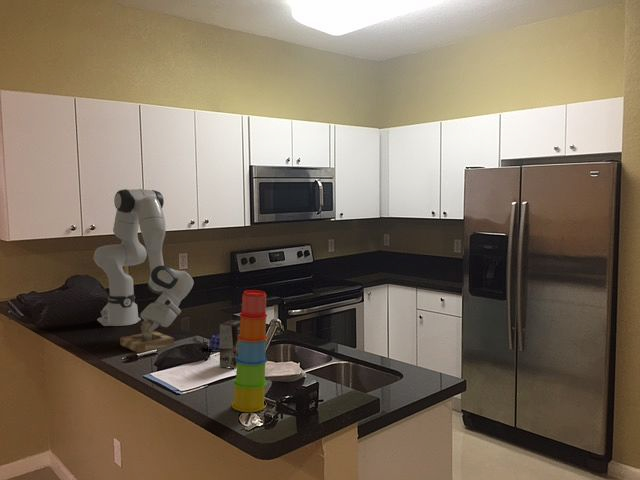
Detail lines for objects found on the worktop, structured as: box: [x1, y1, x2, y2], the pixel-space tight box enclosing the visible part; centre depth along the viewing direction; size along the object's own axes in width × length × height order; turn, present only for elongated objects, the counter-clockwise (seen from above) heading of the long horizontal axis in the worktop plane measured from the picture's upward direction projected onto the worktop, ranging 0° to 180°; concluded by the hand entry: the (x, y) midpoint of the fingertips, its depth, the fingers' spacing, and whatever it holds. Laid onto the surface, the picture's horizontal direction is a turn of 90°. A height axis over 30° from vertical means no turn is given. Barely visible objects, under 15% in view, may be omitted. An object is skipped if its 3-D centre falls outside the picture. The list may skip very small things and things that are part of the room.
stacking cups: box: [231, 289, 268, 413], centre depth 158 cm, size 10×10×35 cm
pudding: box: [207, 334, 220, 352], centre depth 221 cm, size 12×12×5 cm
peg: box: [141, 321, 153, 342], centre depth 224 cm, size 4×4×8 cm
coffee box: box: [219, 319, 241, 369], centre depth 198 cm, size 9×6×16 cm
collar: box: [119, 330, 175, 354], centre depth 225 cm, size 16×16×3 cm
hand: (145, 330), depth 224 cm, fingers closed on peg, 4 cm apart
